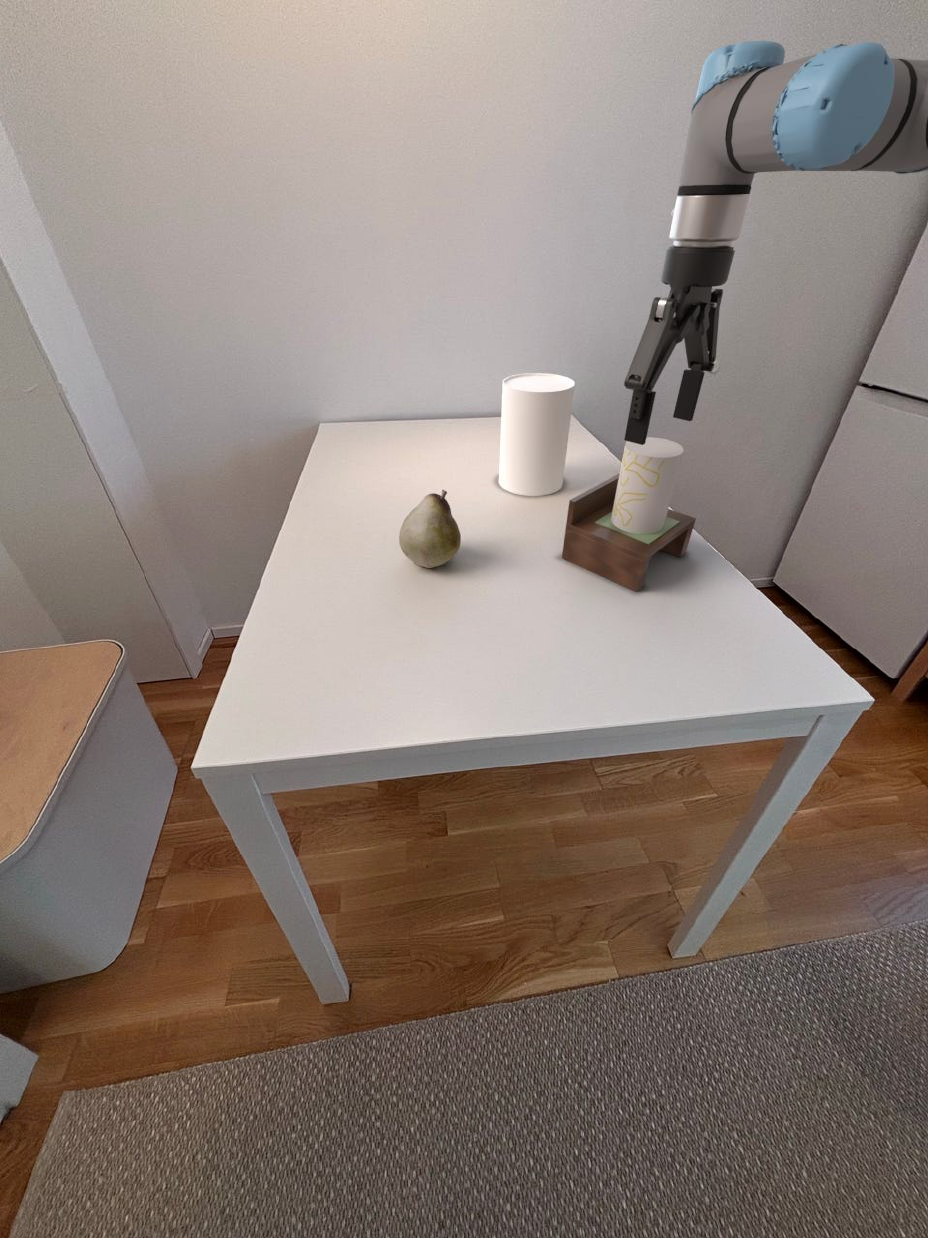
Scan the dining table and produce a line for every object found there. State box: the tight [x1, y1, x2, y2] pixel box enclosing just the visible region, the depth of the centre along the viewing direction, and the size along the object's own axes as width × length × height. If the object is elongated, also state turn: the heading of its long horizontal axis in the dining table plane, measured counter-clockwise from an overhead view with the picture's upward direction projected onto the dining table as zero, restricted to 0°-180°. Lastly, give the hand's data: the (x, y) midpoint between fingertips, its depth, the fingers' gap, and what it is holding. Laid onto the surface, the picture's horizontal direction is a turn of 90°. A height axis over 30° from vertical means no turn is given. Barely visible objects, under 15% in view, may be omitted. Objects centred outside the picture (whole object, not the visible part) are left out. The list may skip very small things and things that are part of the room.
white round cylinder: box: [611, 436, 685, 534], centre depth 78 cm, size 8×8×12 cm
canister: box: [498, 372, 576, 497], centre depth 104 cm, size 14×14×20 cm
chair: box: [561, 472, 697, 593], centre depth 84 cm, size 14×16×10 cm
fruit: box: [398, 489, 462, 569], centre depth 82 cm, size 10×9×12 cm
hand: (659, 430), depth 73 cm, fingers open, 13 cm apart
